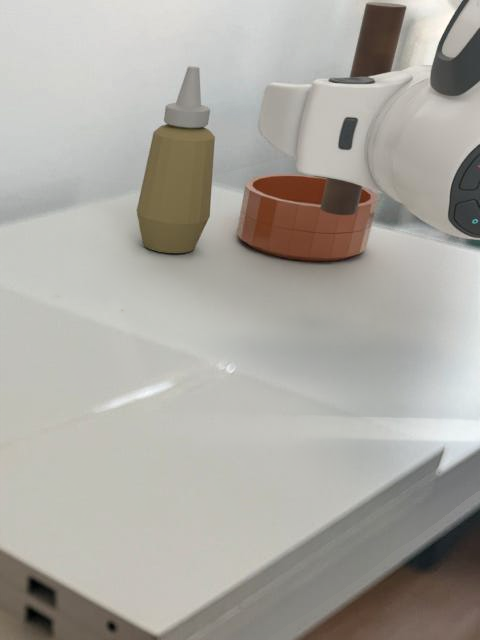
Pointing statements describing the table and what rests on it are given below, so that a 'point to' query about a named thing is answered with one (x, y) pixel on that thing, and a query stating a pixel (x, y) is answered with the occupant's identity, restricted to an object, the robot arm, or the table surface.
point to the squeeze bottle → (178, 174)
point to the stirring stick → (368, 61)
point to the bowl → (301, 219)
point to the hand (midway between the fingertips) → (359, 101)
